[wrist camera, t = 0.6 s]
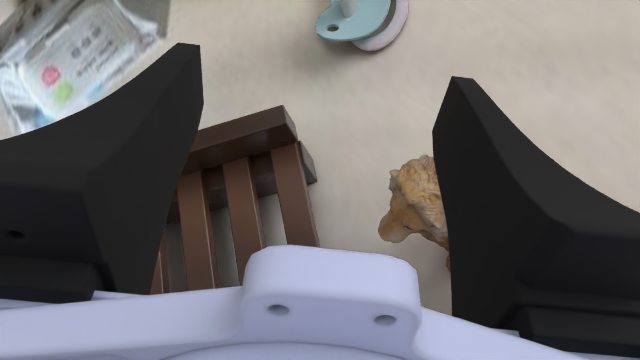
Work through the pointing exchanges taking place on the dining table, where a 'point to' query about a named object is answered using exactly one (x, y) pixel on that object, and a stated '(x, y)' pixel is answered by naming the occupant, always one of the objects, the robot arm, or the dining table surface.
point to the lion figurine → (415, 204)
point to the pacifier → (361, 22)
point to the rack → (239, 193)
